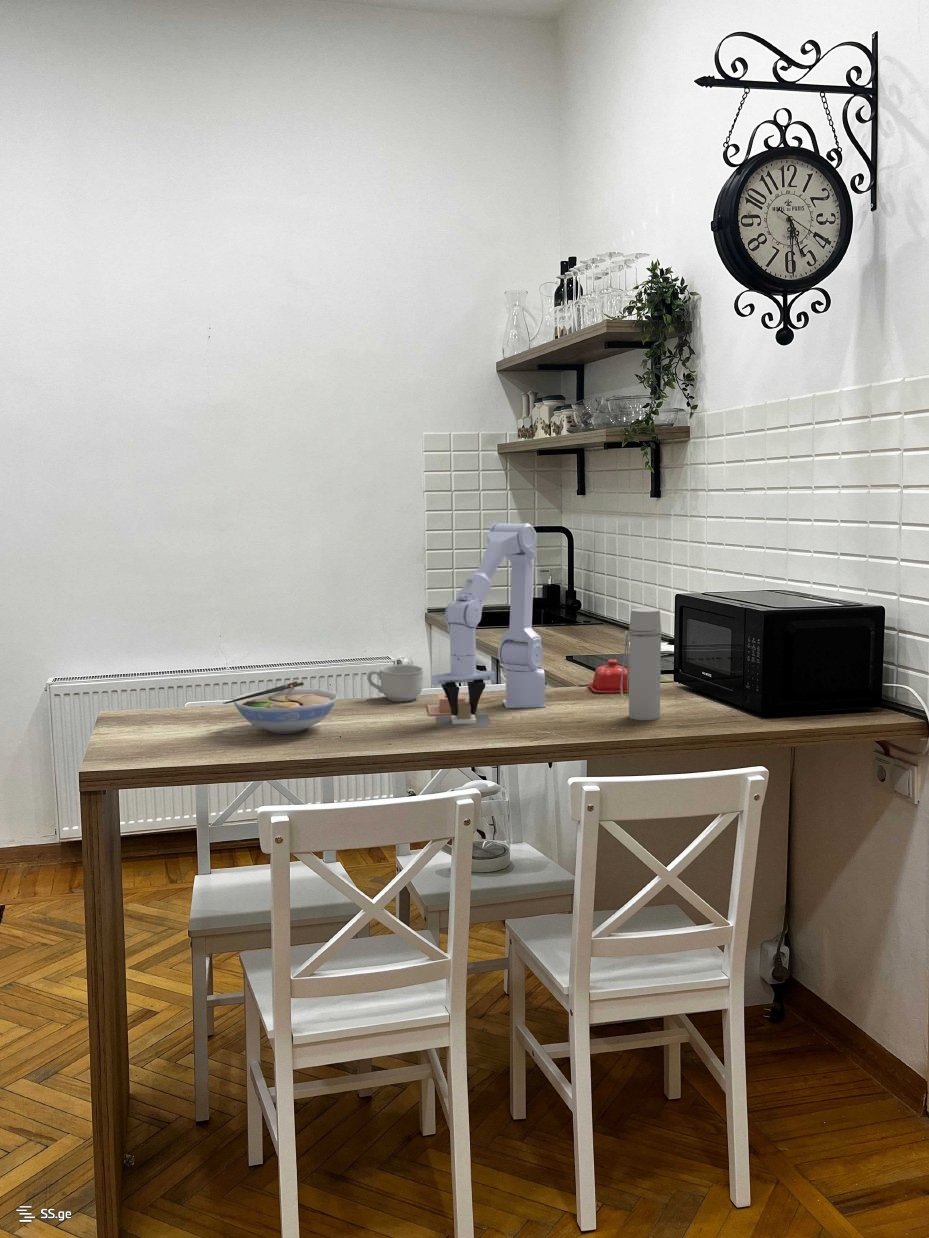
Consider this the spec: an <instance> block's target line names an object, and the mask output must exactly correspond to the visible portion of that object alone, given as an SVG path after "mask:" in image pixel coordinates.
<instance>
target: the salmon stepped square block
mask: <svg viewBox="0 0 929 1238" xmlns="http://www.w3.org/2000/svg"><path fill="white" fill-rule="evenodd" d="M458 703H466V699H465V696H464V693H459V694H458ZM426 707H427V711H428V716H429V717H436V716H452V714H451V709H450V705H449V702H448V699H447V696H446V694H445V693H443V694H437V704H427V705H426ZM471 715H478V714H477V712H476V714H472V713H471Z"/></svg>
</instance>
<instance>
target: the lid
mask: <svg viewBox="0 0 929 1238" xmlns="http://www.w3.org/2000/svg"><path fill="white" fill-rule="evenodd" d="M450 716H451V719H452V723H453V724H473V723H476V718H475V716H474V715H471V705H470V703H469V702H465V703H458V716H454V715H450Z"/></svg>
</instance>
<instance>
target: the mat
mask: <svg viewBox="0 0 929 1238" xmlns="http://www.w3.org/2000/svg"><path fill="white" fill-rule="evenodd" d="M451 716H452V715H447V716H435V719H436V723H437V728H438V729H450V728H451V729H453V728H455V729H456V728H459V729H460V728H480V727H481V728H482V727H486V726H491V725H493V724H492V721H491V719H490V717H489V715H488V714H476V715H474V716H475V718H476V723H473V724H453V723H452V719H451Z"/></svg>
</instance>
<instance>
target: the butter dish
mask: <svg viewBox="0 0 929 1238" xmlns="http://www.w3.org/2000/svg"><path fill="white" fill-rule="evenodd" d="M617 664H618V660H617V659H613V658H612V659H608V660H607V664H606V665H602V666H598V667H597V668H596V669H595V671H594V675H593V679H592V682H588V683H587V685H588V687H590V689H591V691H593V692H595V693H597V694H621V687H620V685H621V677H622V669H623V665H619V664H618V665H617ZM622 692H623V694H624V693H625V694H627V667H624V672H623V681H622Z"/></svg>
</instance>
